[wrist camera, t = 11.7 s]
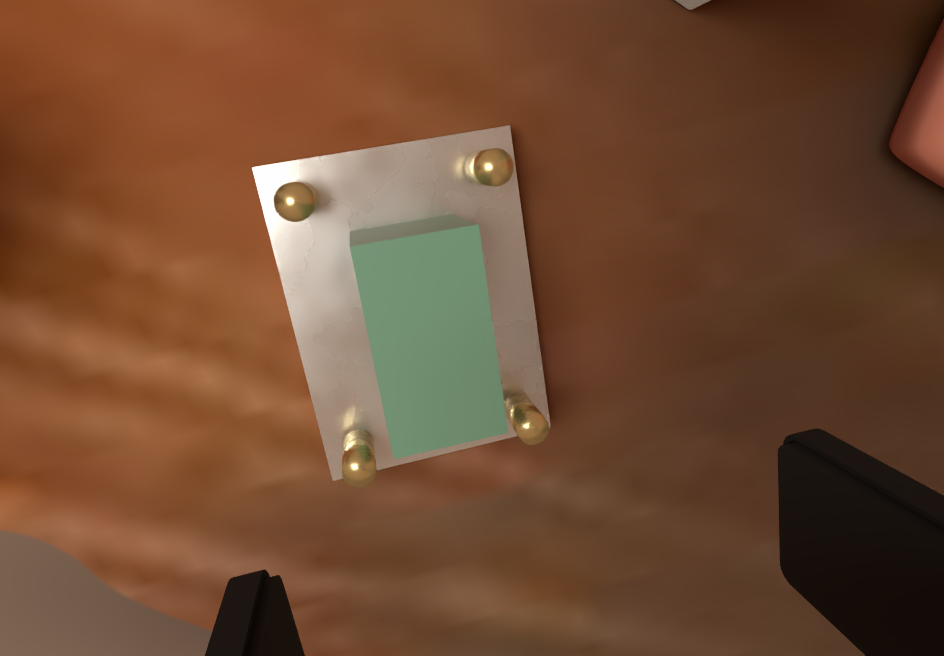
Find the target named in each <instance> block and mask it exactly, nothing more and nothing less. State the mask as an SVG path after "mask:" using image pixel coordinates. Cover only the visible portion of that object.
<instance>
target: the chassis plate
mask: <svg viewBox="0 0 944 656" xmlns="http://www.w3.org/2000/svg"><path fill="white" fill-rule="evenodd" d="M252 169H253V173H254V177H255V181H256V185H257V189H258V193H259V196H260V200H261V204H262V208H263V212H264V216H265V220H266V224H267V227H268V231H269V235H270V239H271V243H272V247H273V251H274V255H275V258H276V262H277V266H278V270H279V274H280V278H281V282H282V286H283V289H284V293H285V297H286V301H287V305H288V309H289V313H290V317H291V320H292V324H293V328H294V332H295V336H296V340H297V344H298V348H299V351H300V355H301V359H302V363H303V367H304V371H305V375H306V379H307V382H308V386H309V390H310V394H311V398H312V402H313V406H314V410H315V413H316V417H317V421H318V425H319V429H320V433H321V437H322V440H323V444H324V448H325V452H326V456H327V460H328V464H329V468H330V471H331V475H332V479H333V481H335V480H339V479H344V481H345V482H346V483H347V484H348V485H350V486H352V487H364V486H367V485H369V484H370V483H371V482H372V481H373V480H374V479H375V476H376V472H377V470H380V469H384V468H388V467H392V466H396V465H400V464H404V463H408V462H413V461H417V460H421V459H425V458H429V457H433V456H437V455H441V454H445V453H449V452H454V451H458V450H462V449H466V448H470V447H474V446H478V445H482V444H486V443H490V442H495V441H499V440H503V439H507V438H511V437H515V436H519V438H520V439H521V441H522V442H524V443H526V444H529V445H534V444H538V443H540V442H542V441H543V440H544V439H545V438H546V436H547V435H548V432H549V428H551V426H550V418H549V411H548V403H547V396H546V389H545V381H544V374H543V366H542V359H541V351H540V344H539V337H538V329H537V322H536V314H535V307H534V300H533V292H532V285H531V277H530V270H529V262H528V255H527V248H526V240H525V233H524V225H523V218H522V211H521V203H520V196H519V188H518V181H517V173H516V166H515V159H514V151H513V144H512V136H511V129H510V126H504V127H497V128H491V129H485V130H479V131H473V132H467V133H461V134H454V135H448V136H442V137H436V138H430V139H424V140H417V141H411V142H405V143H399V144H393V145H387V146H381V147H374V148H368V149H362V150H356V151H350V152H344V153H338V154H331V155H325V156H319V157H313V158H307V159H301V160H295V161H288V162H282V163H276V164H270V165H264V166H258V167H252ZM450 214H454V215H457V216H459V217H462V218H464V219H467V220H469V221H472V222H474V223H477V224H479V230H480V237H481V244H482V251H483V258H484V265H485V272H486V279H487V286H488V293H489V300H490V307H491V314H492V321H493V328H494V335H495V342H496V349H497V356H498V363H499V370H500V377H501V384H502V392H503V399H504V406H505V413H506V420H507V427H508V433H506V434H502V435H497V436H493V437H489V438H484V439H480V440H476V441H471V442H467V443H462V444H458V445H454V446H449V447H445V448H441V449H436V450H432V451H428V452H423V453H419V454H414V455H410V456H406V457H401V458H397V459H393V454H392V450H391V445H390V440H389V435H388V430H387V425H386V421H385V416H384V411H383V406H382V401H381V396H380V391H379V387H378V382H377V377H376V372H375V367H374V362H373V357H372V353H371V348H370V343H369V338H368V333H367V328H366V324H365V319H364V314H363V309H362V304H361V299H360V294H359V290H358V285H357V280H356V275H355V270H354V265H353V260H352V256H351V251H350V231H355V230H361V229H367V228H373V227H379V226H385V225H391V224H396V223H402V222H408V221H414V220H420V219H426V218H432V217H438V216H444V215H450Z"/></svg>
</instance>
